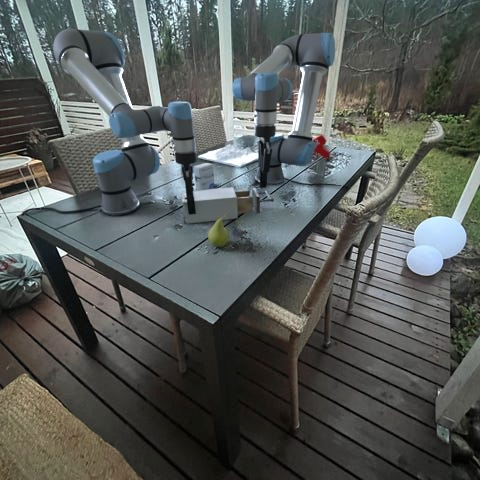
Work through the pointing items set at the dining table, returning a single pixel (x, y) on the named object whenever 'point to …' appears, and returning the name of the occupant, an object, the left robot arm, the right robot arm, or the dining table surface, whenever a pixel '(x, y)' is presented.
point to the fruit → (218, 234)
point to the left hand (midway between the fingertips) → (191, 207)
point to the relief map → (231, 156)
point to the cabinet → (212, 205)
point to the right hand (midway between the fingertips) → (262, 187)
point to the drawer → (250, 200)
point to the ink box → (204, 176)
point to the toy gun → (320, 146)
